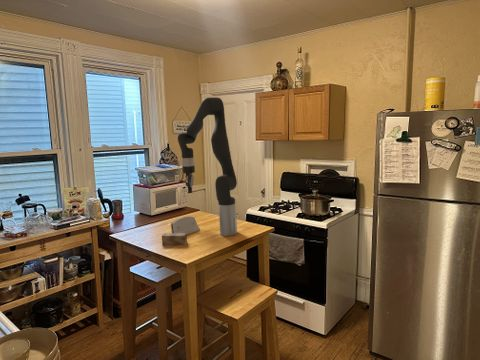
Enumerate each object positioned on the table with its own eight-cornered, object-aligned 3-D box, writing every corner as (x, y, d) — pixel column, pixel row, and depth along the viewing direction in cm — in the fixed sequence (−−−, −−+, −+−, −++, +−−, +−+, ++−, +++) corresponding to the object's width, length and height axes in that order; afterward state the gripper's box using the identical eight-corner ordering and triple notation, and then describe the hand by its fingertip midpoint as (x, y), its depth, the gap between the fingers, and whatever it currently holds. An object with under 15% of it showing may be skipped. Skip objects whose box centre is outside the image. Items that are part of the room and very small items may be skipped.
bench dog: (187, 242, 170) (186, 233, 169) (185, 245, 166) (184, 235, 165) (165, 242, 171) (164, 233, 171) (162, 245, 167) (161, 235, 167)
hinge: (177, 237, 179) (172, 220, 179) (172, 238, 182) (167, 221, 183) (200, 229, 190) (196, 213, 191) (196, 231, 194) (191, 215, 195)
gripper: (191, 166, 191) (193, 194, 194) (196, 163, 204) (198, 190, 207) (179, 166, 192) (181, 195, 195) (185, 164, 205) (187, 190, 208)
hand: (190, 192), depth 201 cm, fingers closed
